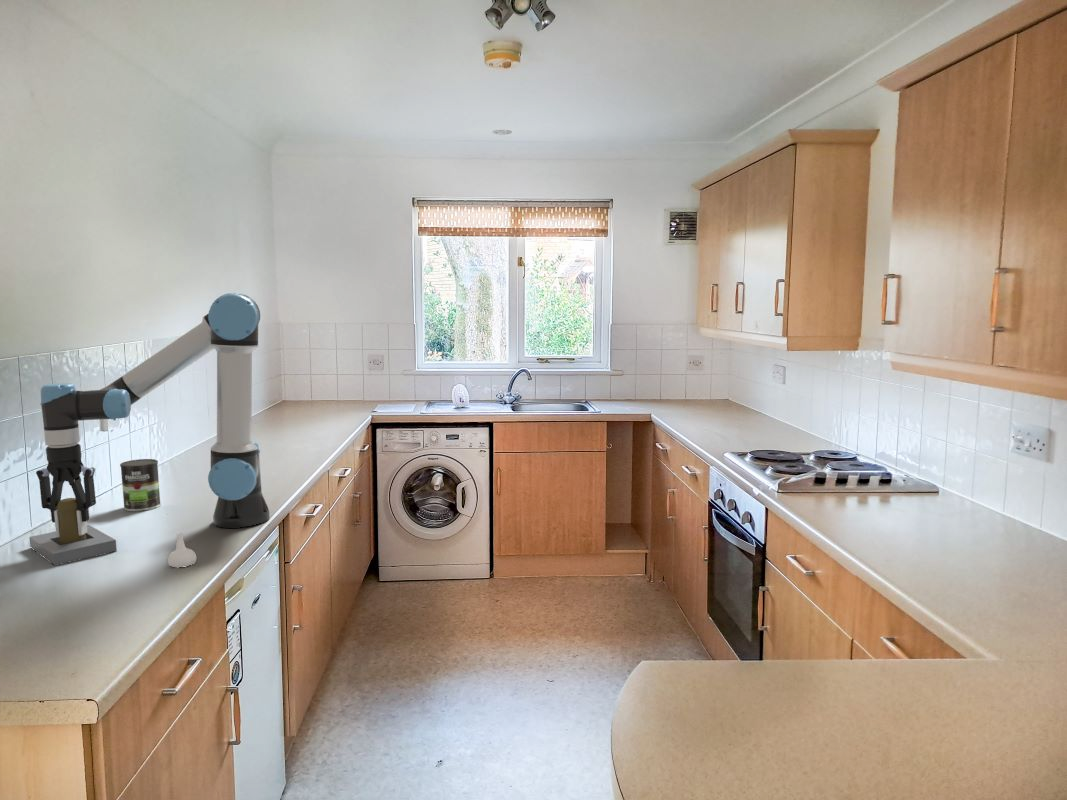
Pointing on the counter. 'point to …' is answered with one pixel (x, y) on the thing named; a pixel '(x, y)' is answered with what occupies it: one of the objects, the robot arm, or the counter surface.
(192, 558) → the garlic bulb
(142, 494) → the coffee can
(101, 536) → the dock board
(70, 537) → the cork
